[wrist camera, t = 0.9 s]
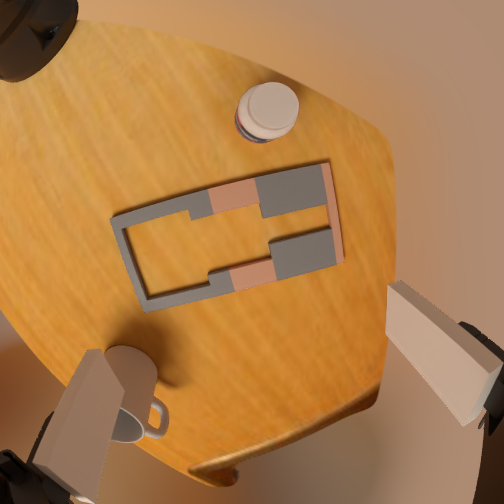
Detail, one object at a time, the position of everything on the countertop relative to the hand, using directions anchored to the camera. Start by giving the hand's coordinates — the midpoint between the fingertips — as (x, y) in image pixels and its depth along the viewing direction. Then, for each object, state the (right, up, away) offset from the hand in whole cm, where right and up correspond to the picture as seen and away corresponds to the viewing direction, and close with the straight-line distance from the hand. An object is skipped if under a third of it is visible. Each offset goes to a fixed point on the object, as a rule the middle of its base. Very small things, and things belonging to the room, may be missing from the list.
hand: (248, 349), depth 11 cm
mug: (-16, -14, +25) cm, 33 cm away
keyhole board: (-2, +5, +20) cm, 21 cm away
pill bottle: (+1, +18, +17) cm, 25 cm away
